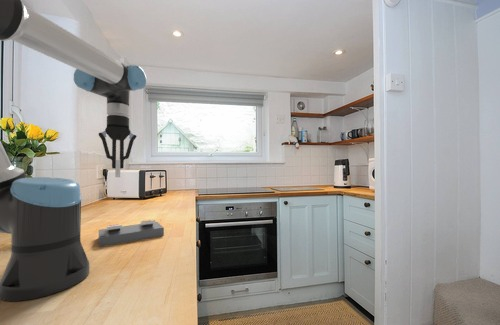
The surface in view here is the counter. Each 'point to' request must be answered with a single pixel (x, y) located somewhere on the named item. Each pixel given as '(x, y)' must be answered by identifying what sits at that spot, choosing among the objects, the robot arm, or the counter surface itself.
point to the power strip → (130, 233)
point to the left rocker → (114, 226)
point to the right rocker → (148, 222)
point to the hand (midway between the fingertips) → (117, 177)
